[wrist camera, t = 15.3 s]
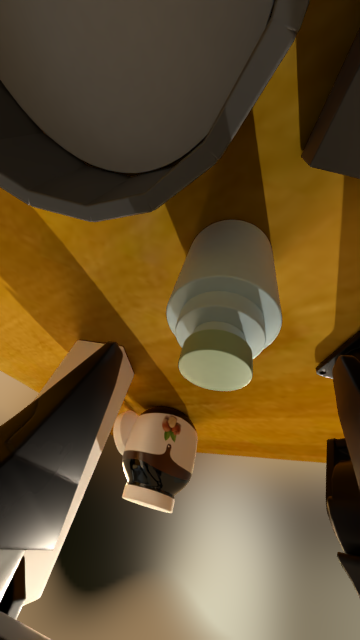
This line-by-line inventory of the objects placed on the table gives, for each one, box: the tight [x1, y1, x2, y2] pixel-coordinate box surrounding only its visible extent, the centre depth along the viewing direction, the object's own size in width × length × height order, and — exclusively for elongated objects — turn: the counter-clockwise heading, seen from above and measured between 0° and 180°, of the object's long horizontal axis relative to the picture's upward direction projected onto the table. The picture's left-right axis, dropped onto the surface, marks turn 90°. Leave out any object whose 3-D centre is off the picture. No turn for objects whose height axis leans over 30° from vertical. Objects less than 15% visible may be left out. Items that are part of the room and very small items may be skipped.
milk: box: [23, 340, 134, 606], centre depth 20 cm, size 6×6×22 cm
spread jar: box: [113, 406, 197, 513], centre depth 33 cm, size 12×11×12 cm
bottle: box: [166, 220, 282, 391], centre depth 12 cm, size 5×5×9 cm
